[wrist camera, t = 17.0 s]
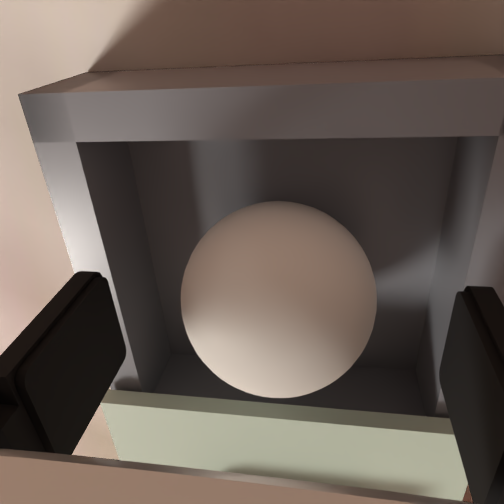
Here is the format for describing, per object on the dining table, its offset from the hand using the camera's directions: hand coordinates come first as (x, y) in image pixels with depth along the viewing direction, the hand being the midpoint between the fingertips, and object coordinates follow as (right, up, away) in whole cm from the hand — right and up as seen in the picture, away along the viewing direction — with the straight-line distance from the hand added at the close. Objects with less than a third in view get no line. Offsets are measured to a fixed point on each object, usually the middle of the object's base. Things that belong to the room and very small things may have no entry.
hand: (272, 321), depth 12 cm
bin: (+1, -3, +7) cm, 8 cm away
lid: (+1, -9, +6) cm, 10 cm away
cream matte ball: (0, +1, +1) cm, 1 cm away
